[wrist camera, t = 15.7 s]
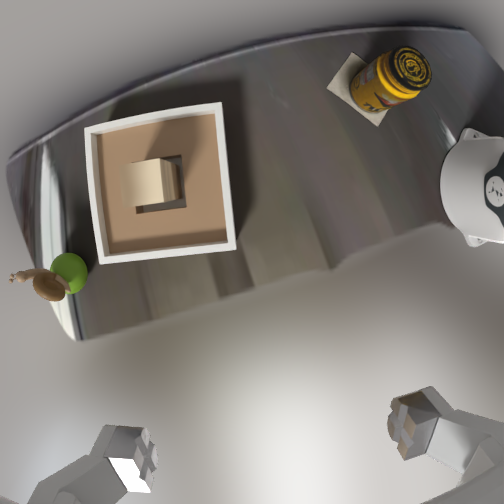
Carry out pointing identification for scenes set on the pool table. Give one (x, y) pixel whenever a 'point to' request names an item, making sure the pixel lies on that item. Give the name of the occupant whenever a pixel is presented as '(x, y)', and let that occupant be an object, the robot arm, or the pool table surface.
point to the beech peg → (149, 182)
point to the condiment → (381, 81)
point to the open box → (171, 212)
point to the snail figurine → (57, 277)
